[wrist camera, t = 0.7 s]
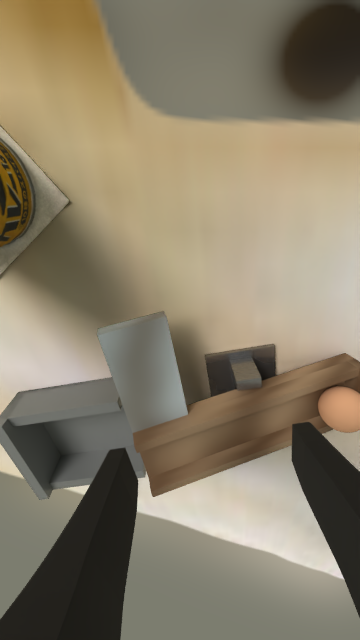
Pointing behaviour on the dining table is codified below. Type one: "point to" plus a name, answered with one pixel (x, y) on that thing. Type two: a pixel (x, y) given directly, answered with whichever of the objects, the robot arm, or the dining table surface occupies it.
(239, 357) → the fulcrum
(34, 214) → the condiment
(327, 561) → the dining table surface
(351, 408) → the ball
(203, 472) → the lever
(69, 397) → the tray
